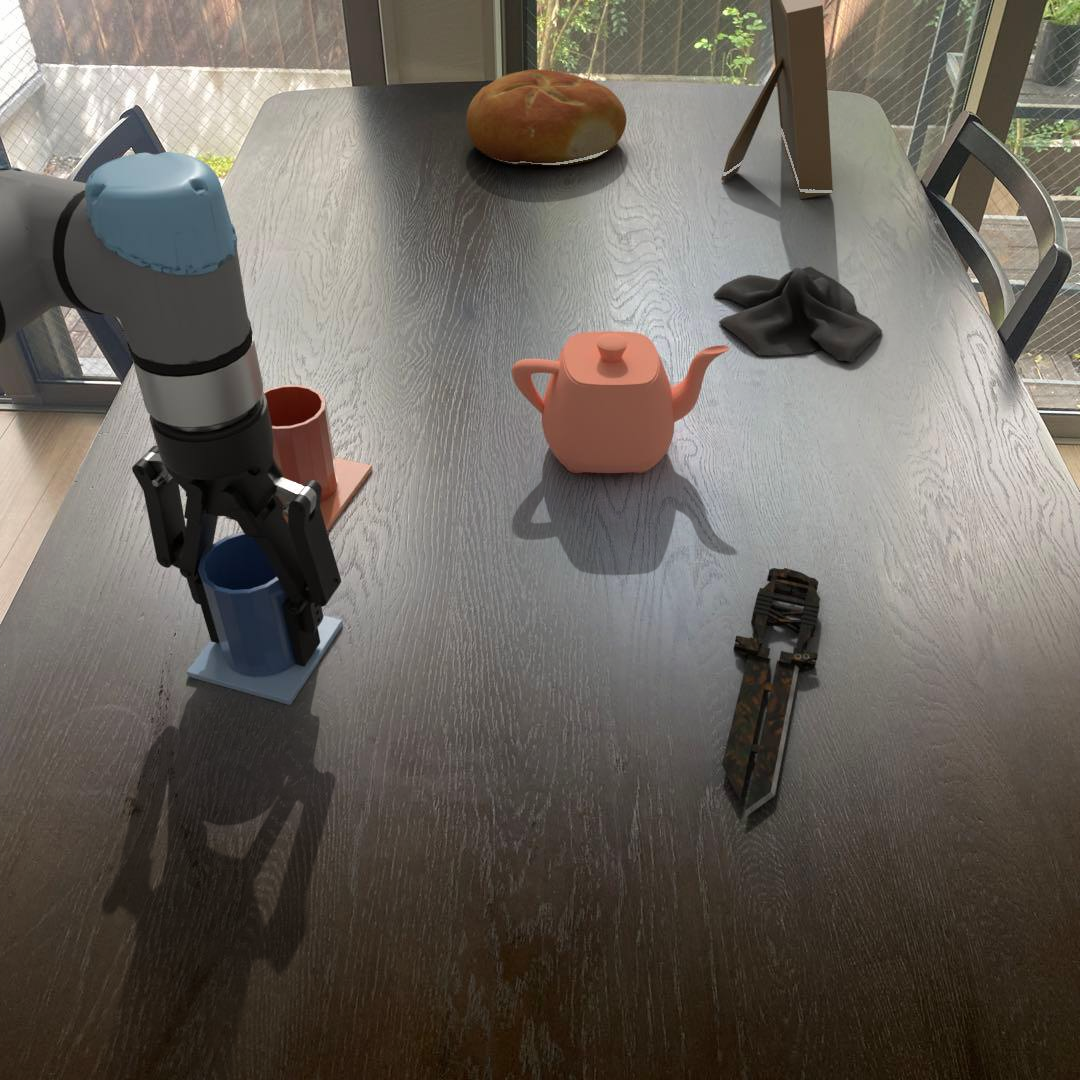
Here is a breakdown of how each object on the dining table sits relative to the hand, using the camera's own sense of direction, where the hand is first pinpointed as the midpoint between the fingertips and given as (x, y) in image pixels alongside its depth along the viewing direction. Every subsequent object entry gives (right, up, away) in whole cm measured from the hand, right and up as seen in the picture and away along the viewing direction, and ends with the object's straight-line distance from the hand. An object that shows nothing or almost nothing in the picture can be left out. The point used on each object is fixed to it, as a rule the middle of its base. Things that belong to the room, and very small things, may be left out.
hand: (265, 641), depth 86 cm
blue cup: (0, 0, 0) cm, 0 cm away
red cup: (-1, +13, +15) cm, 20 cm away
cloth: (+52, +35, +41) cm, 74 cm away
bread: (+23, +67, +77) cm, 105 cm away
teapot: (+29, +17, +21) cm, 40 cm away
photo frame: (+55, +62, +72) cm, 110 cm away
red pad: (-1, +13, +16) cm, 20 cm away
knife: (+40, -4, -2) cm, 40 cm away
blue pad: (0, -1, +1) cm, 1 cm away
